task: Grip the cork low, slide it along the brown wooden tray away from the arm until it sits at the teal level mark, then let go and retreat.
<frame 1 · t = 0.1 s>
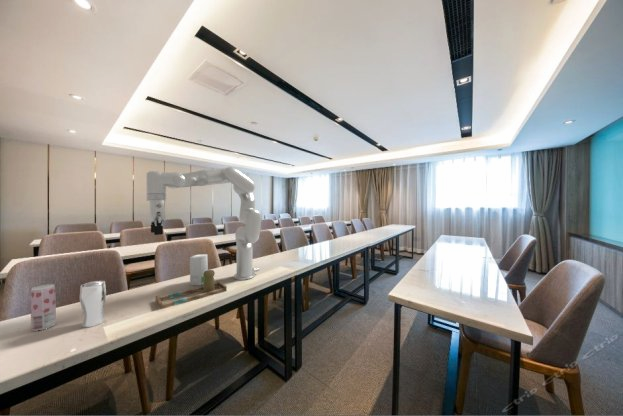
hand: (156, 233, 103), 31 cm above the table, tool pointing down, fingers open, 9 cm apart
skincare box: (198, 283, 124), on the table
cork: (209, 292, 111), resting in brown wooden tray
brown wooden tray: (193, 295, 106), on the table
beer glass: (93, 323, 82), on the table
beverage can: (43, 327, 78), on the table
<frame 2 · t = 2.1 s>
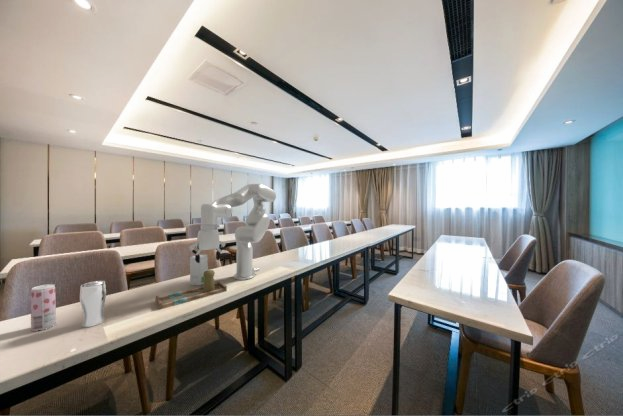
hand: (208, 260, 110), 16 cm above the table, tool pointing down, fingers open, 9 cm apart
nothing on the table moved.
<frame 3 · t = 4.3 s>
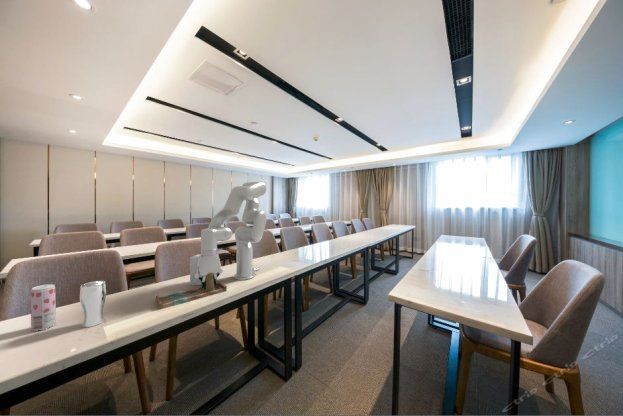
hand: (209, 287, 111), 2 cm above the table, tool pointing down, fingers closed on cork, 4 cm apart
cork: (209, 292, 111), resting in brown wooden tray, touching gripper
everything else where it was.
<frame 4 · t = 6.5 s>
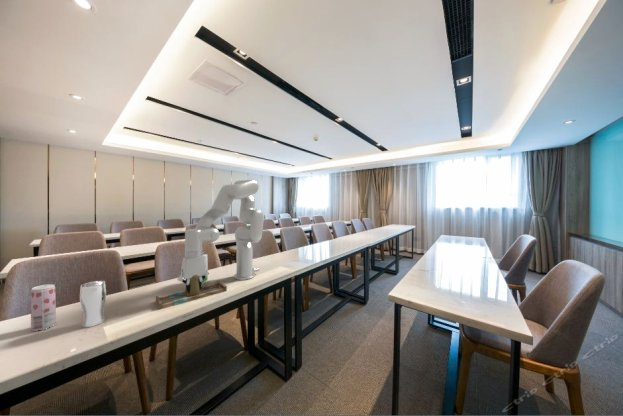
hand: (193, 290, 106), 3 cm above the table, tool pointing down, fingers closed on cork, 4 cm apart
cork: (193, 295, 106), resting in brown wooden tray, touching gripper
everything else where it was.
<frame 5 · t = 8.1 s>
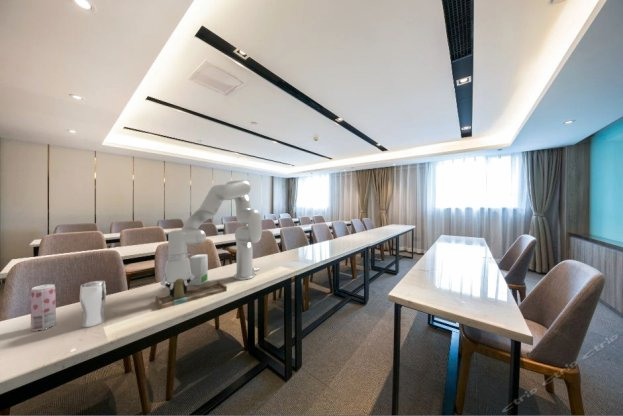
hand: (178, 294, 102), 2 cm above the table, tool pointing down, fingers closed on cork, 4 cm apart
cork: (178, 299, 102), resting in brown wooden tray, touching gripper
everything else where it was.
when the fingers open (2 cm above the table, at t = 8.8 s): cork stays where it is, resting in brown wooden tray.
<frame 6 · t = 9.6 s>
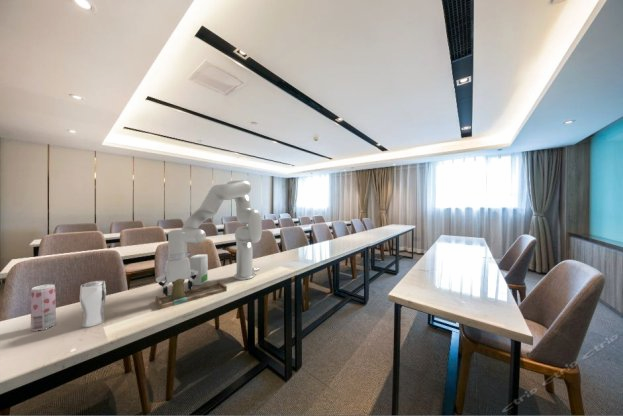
hand: (178, 292, 102), 4 cm above the table, tool pointing down, fingers open, 9 cm apart
cork: (178, 300, 102), resting in brown wooden tray
everything else where it was.
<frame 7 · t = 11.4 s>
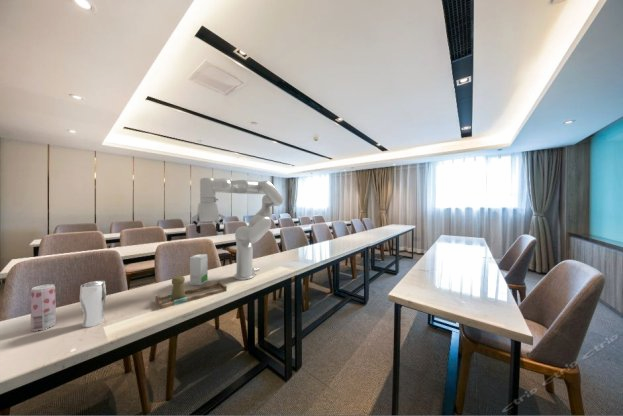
hand: (208, 232, 117), 30 cm above the table, tool pointing down, fingers open, 9 cm apart
nothing on the table moved.
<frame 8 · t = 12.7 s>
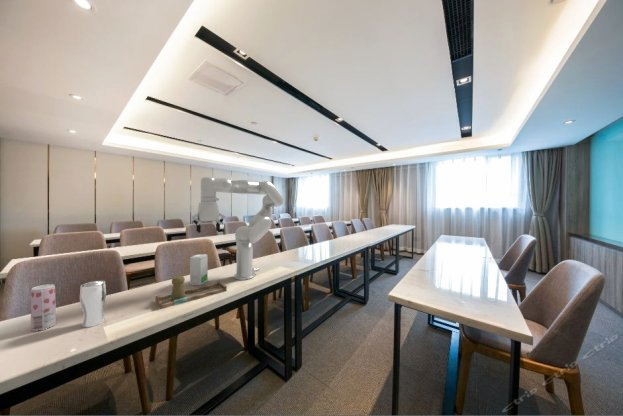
hand: (208, 231, 117), 30 cm above the table, tool pointing down, fingers open, 9 cm apart
nothing on the table moved.
at the end: cork inside the target area (0.5 cm from its centre), resting in brown wooden tray; cork tilted 0°; the gripper is holding nothing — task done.
